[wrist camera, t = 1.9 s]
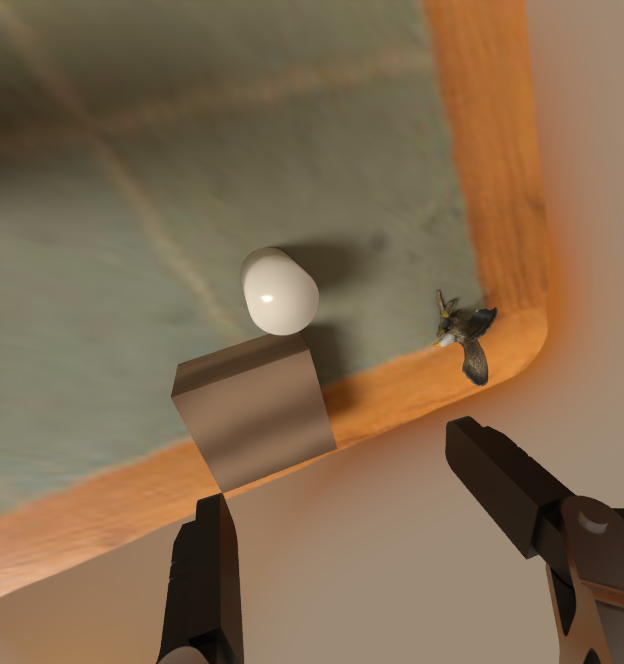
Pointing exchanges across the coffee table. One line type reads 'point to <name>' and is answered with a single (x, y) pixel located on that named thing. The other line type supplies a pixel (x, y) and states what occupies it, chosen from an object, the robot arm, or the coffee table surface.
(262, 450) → the walnut block
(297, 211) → the coffee table surface
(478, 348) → the eagle figurine
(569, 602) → the robot arm
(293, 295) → the ceramic capsule
